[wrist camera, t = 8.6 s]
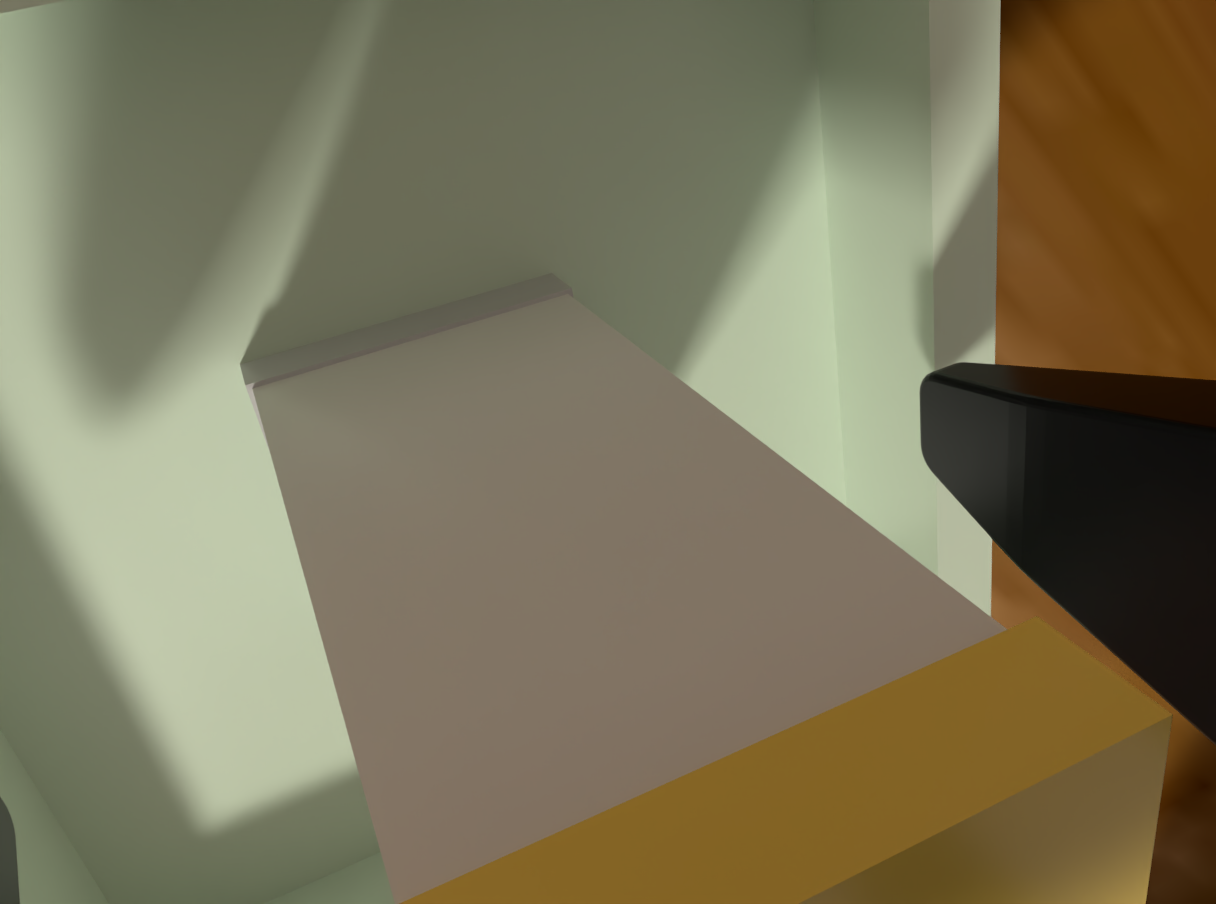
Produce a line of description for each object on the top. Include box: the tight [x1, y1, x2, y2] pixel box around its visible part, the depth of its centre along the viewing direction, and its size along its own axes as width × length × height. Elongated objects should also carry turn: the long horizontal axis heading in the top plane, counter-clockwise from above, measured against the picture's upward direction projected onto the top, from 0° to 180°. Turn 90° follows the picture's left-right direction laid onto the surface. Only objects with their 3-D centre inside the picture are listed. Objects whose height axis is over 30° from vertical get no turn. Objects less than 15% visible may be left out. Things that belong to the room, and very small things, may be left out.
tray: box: [0, 0, 1001, 904], centre depth 11 cm, size 12×12×2 cm
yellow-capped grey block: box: [240, 273, 1173, 904], centre depth 8 cm, size 3×3×8 cm
